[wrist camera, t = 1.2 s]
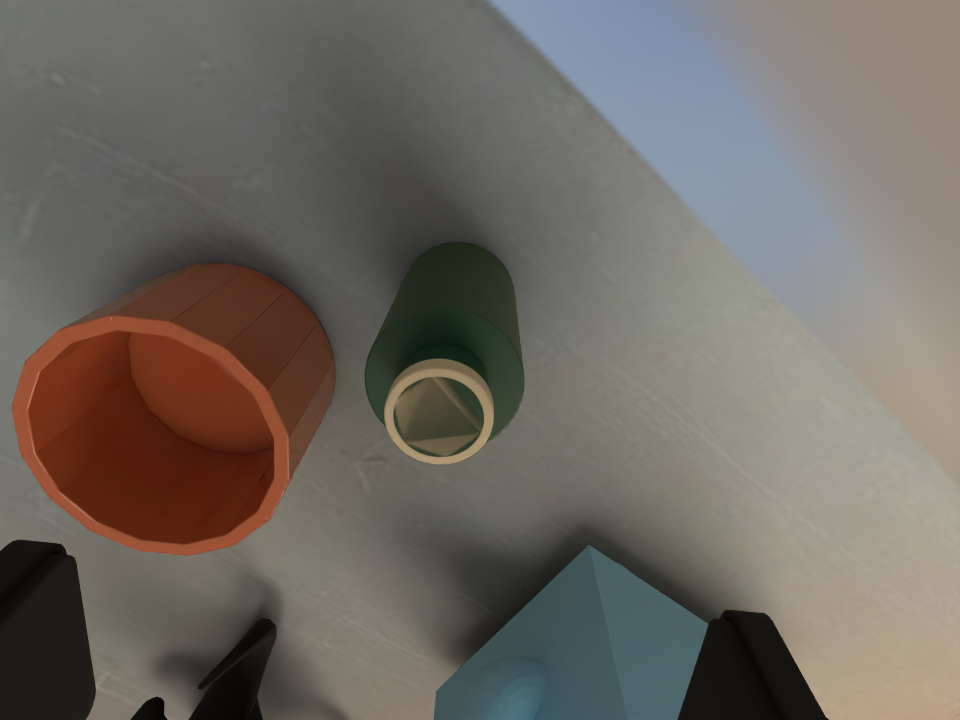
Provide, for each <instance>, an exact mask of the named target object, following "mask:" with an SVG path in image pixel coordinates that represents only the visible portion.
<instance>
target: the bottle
mask: <svg viewBox="0 0 960 720" xmlns="http://www.w3.org/2000/svg"><path fill="white" fill-rule="evenodd" d="M365 387H366V393H367V396H368V399H369V402H370V404H371V406H372V408H373V410H374V412H375V414H376V415H377V417H378V418H379V420H380V421H381V422H382V423H383V424H384V426H385V427H386V428H387V431H388V433H389V435H390V437H391V438H392V440H393V441H394V443H395V444H396V445H397V446H398V447H399V448H400V449H401V450H402V451H403V452H405V453H406V454H407V455H409V456H411V457H413V458H414V459H417V460H419V461H422V462H426V463H431V464H450V463H455V462H459V461H462V460H464V459H466V458H468V457H470V456H472V455H473V454H474V453H476V452H477V451H478V450H479V449H480V448H481V447H482V446H483V445H484V444H485V443H486V442H488V441H489V440H491V439H493V438H494V437H495V436H497V435H498V434H499V433H500V432H502V431H503V430H504V429H505V428H506V427H507V426H508V424H509V423H510V422H511V420H512V419H513V418H514V416H515V414H516V412H517V411H518V408H519V406H520V403H521V401H522V396H523V392H524V369H523V361H522V352H521V344H520V335H519V327H518V318H517V310H516V301H515V293H514V287H513V283H512V280H511V277H510V275H509V273H508V271H507V269H506V268H505V266H504V265H503V264H502V262H501V261H500V260H499V259H498V258H497V257H496V256H494V255H493V254H492V253H490V252H489V251H487V250H486V249H484V248H481V247H479V246H476V245H473V244H469V243H462V242H453V243H446V244H441V245H438V246H435V247H433V248H431V249H429V250H427V251H426V252H425V253H423V254H422V255H421V256H420V257H418V258H417V259H416V260H415V262H414V263H413V264H412V265H411V267H410V269H409V270H408V272H407V274H406V276H405V278H404V280H403V283H402V285H401V287H400V289H399V291H398V293H397V295H396V297H395V299H394V302H393V304H392V306H391V308H390V310H389V312H388V314H387V316H386V318H385V320H384V323H383V325H382V327H381V329H380V331H379V333H378V335H377V337H376V339H375V342H374V344H373V346H372V348H371V350H370V353H369V355H368V358H367V362H366V367H365Z"/></svg>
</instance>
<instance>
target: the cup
mask: <svg viewBox="0 0 960 720" xmlns="http://www.w3.org/2000/svg"><path fill="white" fill-rule="evenodd" d="M334 383H335V364H334V359H333V354H332V350H331V347H330V344H329V341H328V338H327V336H326V334H325V332H324V330H323V328H322V326H321V324H320V323H319V321H318V320H317V318H316V317H315V315H314V314H313V313H312V311H311V310H310V309H309V308H308V307H307V305H306V304H305V303H304V302H303V301H302V300H301V299H300V298H299V297H298V296H296V295H295V294H294V293H293V292H292V291H290V290H289V289H288V288H286V287H285V286H284V285H282V284H281V283H279V282H277V281H276V280H274V279H272V278H270V277H269V276H266V275H264V274H262V273H260V272H257V271H255V270H252V269H248V268H245V267H242V266H237V265H231V264H224V263H203V264H195V265H190V266H185V267H182V268H179V269H177V270H174V271H171V272H169V273H167V274H164V275H161V276H157V277H156V278H154V279H152V280H150V281H148V282H146V283H144V284H143V285H141V286H139V287H137V288H135V289H133V290H132V291H130V292H128V293H126V294H124V295H122V296H120V297H119V298H117V299H115V300H113V301H111V302H109V303H107V304H106V305H104V306H102V307H100V308H98V309H96V310H95V311H93V312H91V313H89V314H87V315H85V316H83V317H82V318H80V319H78V320H76V321H74V322H72V323H71V324H69V325H67V326H65V327H63V328H61V329H60V330H58V331H57V332H56V333H55V334H54V335H53V336H52V337H51V338H50V339H49V340H47V341H46V342H45V343H44V344H43V345H42V346H41V347H40V348H39V349H38V350H37V351H36V352H35V353H34V354H33V355H31V356H30V357H29V358H28V359H27V360H26V362H25V363H24V366H23V369H22V373H21V376H20V379H19V383H18V386H17V389H16V393H15V396H14V400H13V403H12V413H13V418H14V423H15V428H16V433H17V439H18V444H19V449H20V453H21V456H22V457H23V459H24V460H25V462H26V463H27V465H28V466H29V468H30V470H31V471H32V473H33V474H34V476H35V477H36V479H37V480H38V482H39V483H40V485H41V486H42V488H43V490H44V491H45V493H46V494H47V496H50V497H49V498H50V499H51V500H53V501H54V502H55V503H56V504H58V505H59V506H60V507H61V508H62V509H64V510H65V511H66V512H67V513H69V514H70V515H71V516H72V517H74V518H75V519H76V520H77V521H79V522H80V523H81V524H82V525H84V526H85V527H86V528H87V529H89V530H90V529H91V531H92V532H95V533H97V534H99V535H102V536H104V537H107V538H109V539H111V540H114V541H116V542H119V543H121V544H123V545H126V546H128V547H131V548H133V549H135V550H139V551H146V552H155V553H165V554H175V555H184V556H188V555H190V556H191V555H195V554H199V553H204V552H208V551H212V550H217V549H221V548H225V547H230V546H233V545H235V544H237V543H238V542H240V541H241V540H243V539H244V538H245V537H247V536H248V535H249V534H251V533H252V532H254V531H255V530H256V529H258V528H259V527H261V526H262V525H263V524H265V523H266V522H268V521H269V519H271V517H272V515H273V513H274V511H275V509H276V507H277V505H278V503H279V501H280V500H281V498H282V496H283V494H284V492H285V490H286V488H287V486H288V484H289V482H290V480H291V478H292V477H293V475H294V473H295V471H296V469H297V467H298V465H299V463H300V461H301V459H302V457H303V455H304V454H305V452H306V450H307V448H308V446H309V444H310V442H311V440H312V438H313V436H314V434H315V432H316V431H317V429H318V427H319V425H320V423H321V421H322V419H323V417H324V415H325V413H326V411H327V409H328V408H329V406H330V404H331V399H332V395H333V391H334Z"/></svg>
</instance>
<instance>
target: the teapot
mask: <svg viewBox="0 0 960 720" xmlns="http://www.w3.org/2000/svg"><path fill="white" fill-rule="evenodd" d="M708 625H709V624H708V623H706V622H705V621H703V620H702V619H700V618H699V617H697V616H696V615H694V614H693V613H691V612H690V611H688V610H687V609H685V608H684V607H682V606H680V605H679V604H677V603H676V602H674V601H673V600H671V599H670V598H668V597H667V596H665V595H664V594H662V593H661V592H659V591H658V590H656V589H655V588H653V587H652V586H650V585H649V584H647V583H646V582H644V581H643V580H641V579H640V578H638V577H637V576H635V575H634V574H632V573H631V572H629V571H628V569H627V568H626V567H624V566H623V565H621V564H620V563H617V562H614V561H613V560H611V559H610V558H608V557H607V556H605V555H604V554H602V553H601V552H599V551H598V550H596V549H595V548H593V547H591V546H590V545H588V546H587V547H586V548H585V549H584V550H583V551H582V552H581V553H580V554H579V555H578V556H577V557H576V558H575V559H574V560H573V561H572V562H570V563H569V564H568V565H567V566H566V567H565V568H564V569H563V570H562V571H561V572H560V573H559V574H558V575H557V576H556V577H555V578H554V579H553V580H552V581H551V582H550V583H549V584H548V585H547V586H545V587H544V588H543V589H542V590H541V591H540V592H539V593H538V594H537V595H536V596H535V597H534V598H533V599H532V600H531V601H530V602H529V603H528V604H527V605H526V606H525V607H524V608H523V609H521V610H520V611H519V612H518V613H517V614H516V615H515V616H514V617H513V618H512V619H511V620H510V621H509V622H508V623H507V624H506V625H505V626H504V627H503V628H502V629H501V630H500V631H498V632H497V633H496V634H495V635H494V636H493V637H492V638H491V639H490V640H489V641H488V642H487V643H486V644H485V645H484V646H483V647H482V648H481V649H480V650H479V651H478V652H477V653H476V654H474V655H473V656H472V657H471V658H470V659H469V660H468V661H467V662H466V663H465V664H464V665H463V666H462V667H461V668H460V669H459V670H458V671H457V672H456V673H455V674H454V675H452V676H451V677H450V678H449V679H448V680H447V681H446V682H445V683H444V684H443V685H442V686H441V687H440V688H439V689H438V690H437V691H436V701H435V712H434V720H677V719H678V716H679V713H680V710H681V707H682V704H683V701H684V698H685V695H686V692H687V689H688V686H689V683H690V680H691V677H692V674H693V670H694V667H695V664H696V661H697V658H698V655H699V652H700V649H701V646H702V643H703V640H704V637H705V634H706V631H707V628H708Z"/></svg>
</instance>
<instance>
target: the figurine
mask: <svg viewBox="0 0 960 720" xmlns="http://www.w3.org/2000/svg"><path fill="white" fill-rule="evenodd" d="M275 639H276V626H275V625H274V623H273V622H272V621H271V620H270V619H266V618H262V619H260V620H258V621H256V622H255V623H254V625H253V626H252V627H251V628H250V629H249V631H248V632H247V633H246V635H245V636H244V637H243V639H242V640H241V641H240V642H239V643H238V644H237V645H236V647H235V648H234V649H233V650H232V651H231V652H230V653H229V654H228V655H227V656H226V657H225V658H224V659H223V660H222V661H221V662H220V663H219V664H218V665H217V666H216V667H215V668H214V669H213V670H212V671H211V672H210V673H209V675H208V676H207V677H206V678H205V679H204V680H203V681H202V682H201V683H200V684H199V686H198V689H204V688H205V687H207V686H208V685H210V684H211V683H212V682H213V683H212V685H211V686H210V688H209V689H208V691H207V692H206V694H205V695H204V697H203V699H202V700H201V702H200V703H199V705H198V706H197V708H196V709H195V711H194V712H193V714H192V715H191V717H190V718H189V720H263V719H262V715H261V711H260V707H259V703H258V699H257V694H258V691H259V687H260V684H261V680H262V677H263V673H264V670H265V667H266V663H267V660H268V657H269V655H270V652H271V649H272V647H273V644H274V642H275ZM131 720H167V718H166V717H165V715H164V701H163V699H161V698H159V697H154V698H152V699H150V700H148V701H146V702H145V703H144V704H143V705H142V707H141V708H140V709H139V710H138V711H137V712H136V714H135V715H134V716H133V717H132V718H131Z"/></svg>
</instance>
